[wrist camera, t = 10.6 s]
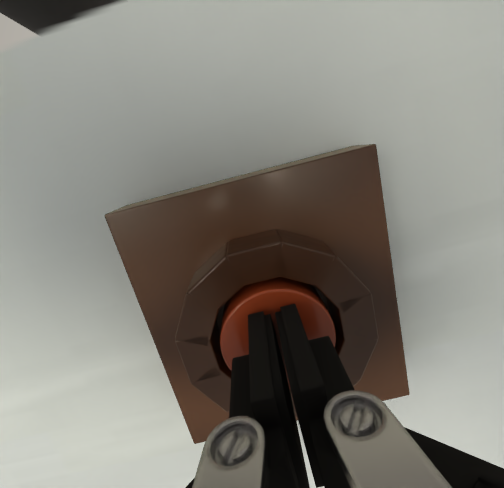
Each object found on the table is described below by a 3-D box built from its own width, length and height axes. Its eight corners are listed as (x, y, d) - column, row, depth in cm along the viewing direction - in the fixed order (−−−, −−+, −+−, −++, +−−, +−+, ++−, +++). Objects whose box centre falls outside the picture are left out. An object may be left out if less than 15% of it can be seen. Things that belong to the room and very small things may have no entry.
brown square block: (125, 205, 13) (78, 225, 9) (354, 145, 13) (402, 141, 9) (200, 407, 16) (187, 484, 12) (388, 363, 16) (434, 429, 12)
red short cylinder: (210, 284, 12) (205, 305, 10) (313, 258, 12) (324, 276, 10) (237, 370, 13) (237, 402, 11) (331, 348, 13) (345, 377, 11)
